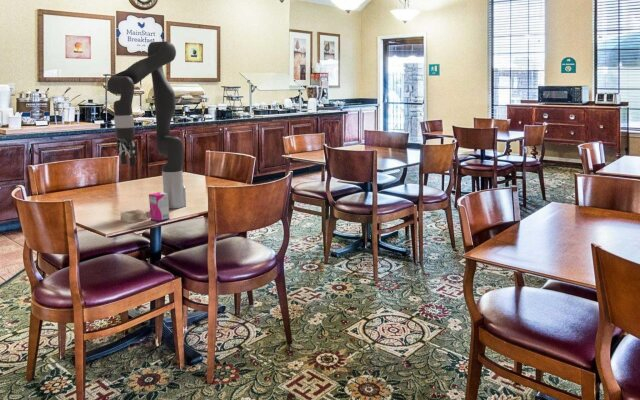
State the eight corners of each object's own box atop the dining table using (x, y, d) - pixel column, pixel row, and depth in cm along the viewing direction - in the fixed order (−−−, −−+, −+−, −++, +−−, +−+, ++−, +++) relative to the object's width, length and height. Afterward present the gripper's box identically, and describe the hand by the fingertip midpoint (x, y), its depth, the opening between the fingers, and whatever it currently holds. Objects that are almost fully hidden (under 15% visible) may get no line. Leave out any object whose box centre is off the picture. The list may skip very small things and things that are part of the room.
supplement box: (161, 217, 236) (160, 191, 234) (170, 219, 233) (168, 193, 230) (150, 219, 232) (148, 193, 229) (158, 222, 228) (156, 195, 226)
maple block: (138, 217, 238) (138, 209, 237) (146, 220, 232) (146, 212, 232) (121, 220, 233) (120, 212, 232) (128, 223, 227) (128, 215, 226)
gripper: (141, 126, 219) (144, 166, 223) (126, 124, 229) (129, 162, 233) (123, 128, 214) (127, 168, 218) (108, 125, 224) (112, 164, 228)
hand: (128, 165), depth 225 cm, fingers open, 8 cm apart
